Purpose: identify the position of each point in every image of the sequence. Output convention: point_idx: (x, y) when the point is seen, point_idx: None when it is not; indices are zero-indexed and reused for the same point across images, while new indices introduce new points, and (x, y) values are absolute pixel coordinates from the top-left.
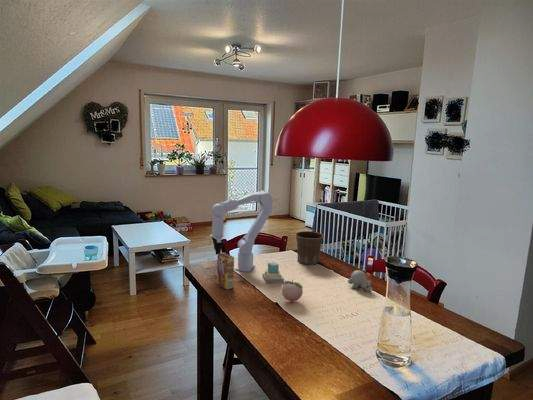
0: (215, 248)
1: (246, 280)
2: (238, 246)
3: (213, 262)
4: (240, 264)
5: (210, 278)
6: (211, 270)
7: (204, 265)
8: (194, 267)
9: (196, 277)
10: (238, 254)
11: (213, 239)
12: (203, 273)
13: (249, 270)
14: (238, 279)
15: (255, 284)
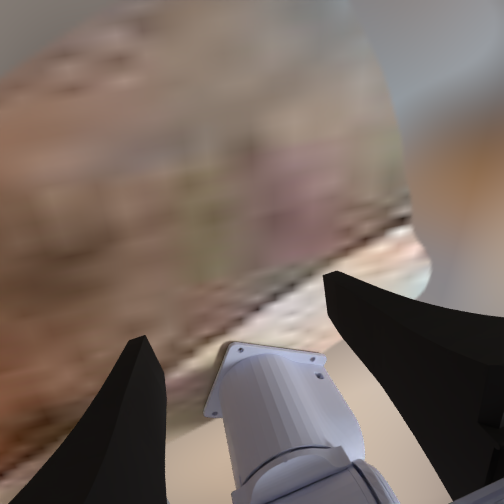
0: (79, 425)
1: (67, 433)
2: (359, 484)
3: (369, 174)
4: (232, 401)
5: (27, 214)
6: (206, 189)
7: (313, 108)
8: (266, 10)
9: (8, 74)
10: (270, 450)
11: (445, 365)
12: (129, 131)
13: (216, 416)
14: (70, 393)
15: (20, 483)
